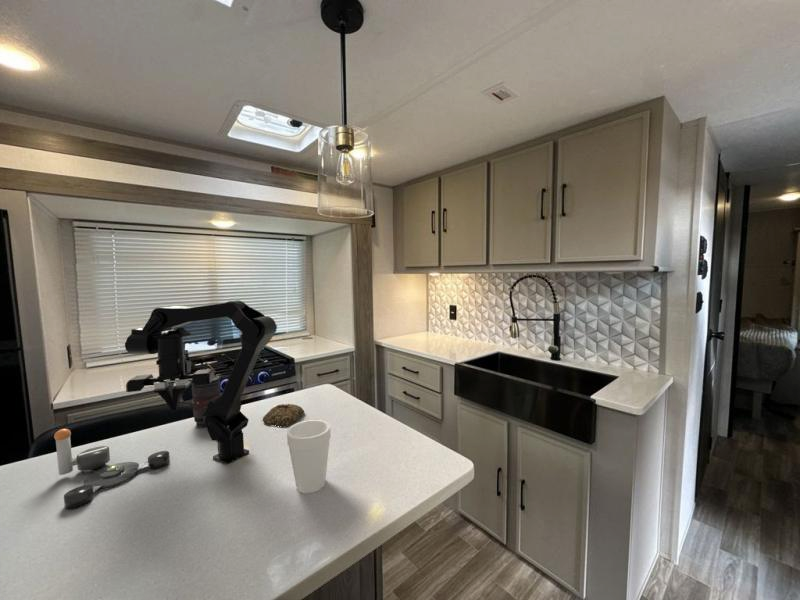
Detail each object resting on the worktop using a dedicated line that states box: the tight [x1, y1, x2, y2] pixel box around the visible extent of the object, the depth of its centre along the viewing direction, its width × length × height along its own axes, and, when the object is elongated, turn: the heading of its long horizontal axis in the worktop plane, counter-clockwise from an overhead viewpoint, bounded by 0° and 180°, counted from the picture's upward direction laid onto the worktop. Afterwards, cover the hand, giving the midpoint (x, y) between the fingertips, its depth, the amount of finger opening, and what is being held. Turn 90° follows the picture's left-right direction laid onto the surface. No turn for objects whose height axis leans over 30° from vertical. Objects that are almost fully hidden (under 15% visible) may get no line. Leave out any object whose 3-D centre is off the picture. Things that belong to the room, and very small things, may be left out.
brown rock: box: [262, 403, 305, 428], centre depth 111 cm, size 13×12×5 cm
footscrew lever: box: [53, 428, 111, 476], centre depth 82 cm, size 9×6×11 cm, turn 133°
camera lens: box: [191, 375, 222, 428], centre depth 108 cm, size 8×8×15 cm
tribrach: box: [63, 450, 171, 511], centre depth 80 cm, size 18×20×3 cm
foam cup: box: [286, 419, 332, 494], centre depth 74 cm, size 10×9×13 cm
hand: (174, 411), depth 88 cm, fingers closed
